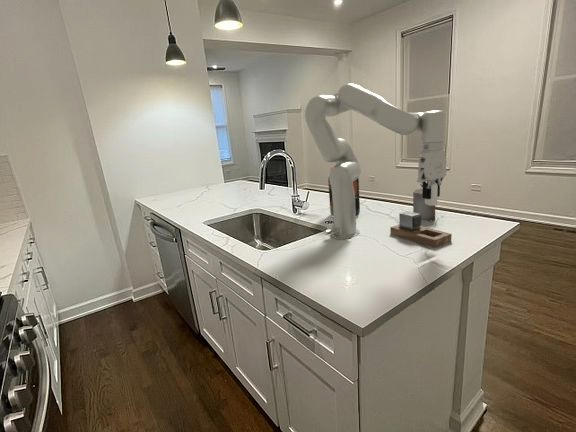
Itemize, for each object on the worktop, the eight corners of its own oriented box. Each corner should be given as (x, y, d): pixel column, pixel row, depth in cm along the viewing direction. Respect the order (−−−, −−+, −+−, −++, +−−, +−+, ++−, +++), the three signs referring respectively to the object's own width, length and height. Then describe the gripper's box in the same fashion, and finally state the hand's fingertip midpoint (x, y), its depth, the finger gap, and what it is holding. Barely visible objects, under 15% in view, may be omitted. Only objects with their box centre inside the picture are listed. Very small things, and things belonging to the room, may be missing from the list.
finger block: (413, 238, 125) (414, 216, 123) (399, 234, 132) (399, 213, 129) (421, 235, 127) (422, 214, 125) (407, 231, 134) (407, 211, 131)
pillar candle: (430, 215, 156) (430, 185, 152) (438, 220, 146) (439, 188, 142) (410, 217, 156) (409, 187, 152) (417, 222, 147) (417, 191, 143)
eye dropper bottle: (437, 202, 119) (438, 170, 116) (437, 206, 114) (437, 173, 111) (425, 202, 121) (425, 171, 118) (423, 205, 116) (424, 173, 113)
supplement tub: (338, 210, 181) (336, 164, 174) (364, 212, 172) (363, 164, 165) (325, 217, 169) (321, 169, 162) (352, 220, 159) (350, 169, 152)
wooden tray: (434, 250, 115) (434, 240, 114) (390, 236, 133) (390, 227, 132) (451, 243, 119) (451, 233, 118) (406, 231, 137) (406, 222, 136)
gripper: (425, 150, 105) (424, 203, 110) (456, 144, 113) (454, 194, 118) (407, 149, 112) (407, 200, 117) (438, 144, 119) (436, 192, 124)
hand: (431, 196), depth 117 cm, fingers closed on eye dropper bottle, 4 cm apart
